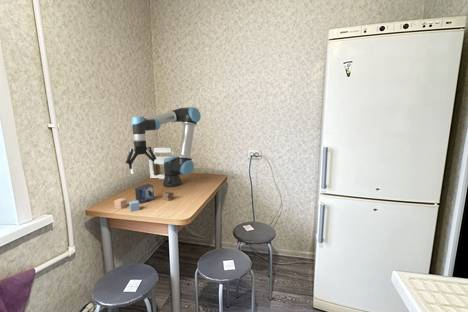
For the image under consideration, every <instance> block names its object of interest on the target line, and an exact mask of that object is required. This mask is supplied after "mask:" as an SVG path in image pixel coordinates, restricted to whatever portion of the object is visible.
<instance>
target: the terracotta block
mask: <svg viewBox="0 0 468 312" xmlns="http://www.w3.org/2000/svg"><path fill="white" fill-rule="evenodd" d="M113 202H114V203H113V204H114V209H117V210H118V209H119V210H123V209H124V208H126V207H127V206H128V204H127V202H128V201H127V198H118V199H115V200H114V201H113Z"/></svg>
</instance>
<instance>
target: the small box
mask: <svg viewBox="0 0 468 312" xmlns="http://www.w3.org/2000/svg"><path fill="white" fill-rule="evenodd" d="M134 190H135V191H134V193H135V201H136V200H138V202H139V205H141V204H144V203H148V202H151V201H154V200H155V190H154V185H153V184H150V183H147V184H143V185H138V186H135V187H134Z"/></svg>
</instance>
